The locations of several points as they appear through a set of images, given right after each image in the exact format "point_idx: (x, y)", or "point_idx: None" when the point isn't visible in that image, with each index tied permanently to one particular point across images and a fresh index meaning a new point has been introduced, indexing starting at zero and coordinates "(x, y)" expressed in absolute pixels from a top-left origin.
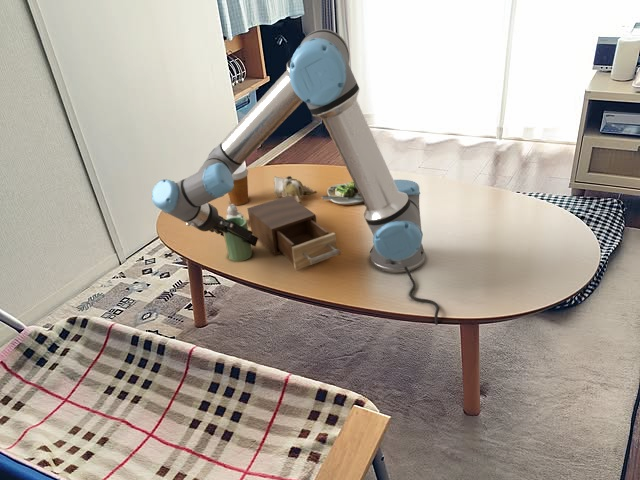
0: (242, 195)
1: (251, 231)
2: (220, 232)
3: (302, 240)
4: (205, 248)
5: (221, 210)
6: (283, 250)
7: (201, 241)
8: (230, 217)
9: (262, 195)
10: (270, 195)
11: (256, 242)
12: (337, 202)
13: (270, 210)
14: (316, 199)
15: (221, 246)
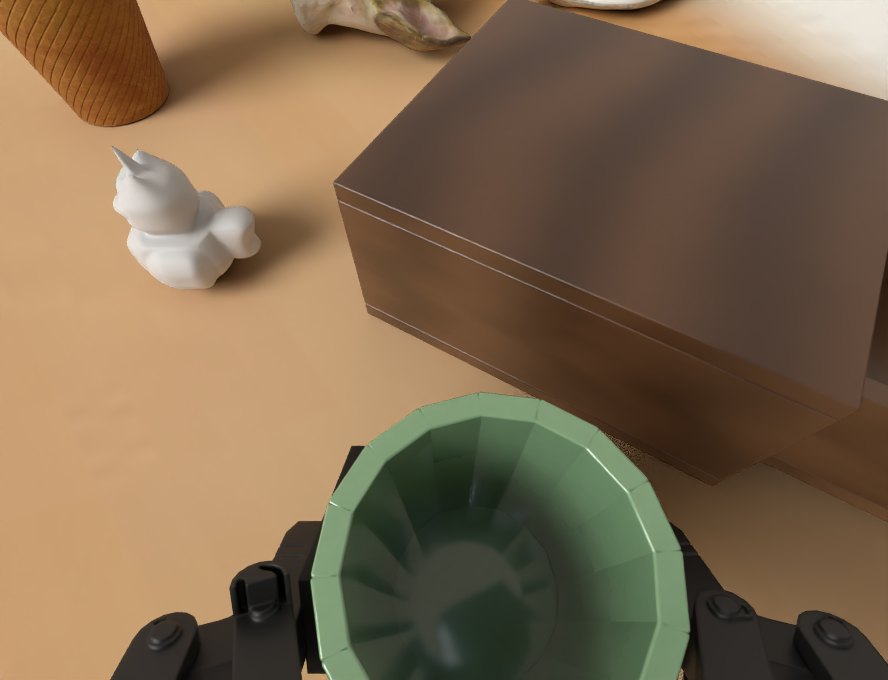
0: (133, 61)
1: (845, 627)
2: (303, 664)
3: None
4: (131, 617)
5: (51, 182)
6: (846, 481)
7: (52, 532)
8: (171, 253)
9: (217, 39)
10: (256, 31)
11: None
12: (616, 2)
13: (549, 155)
14: (481, 8)
15: (252, 534)
